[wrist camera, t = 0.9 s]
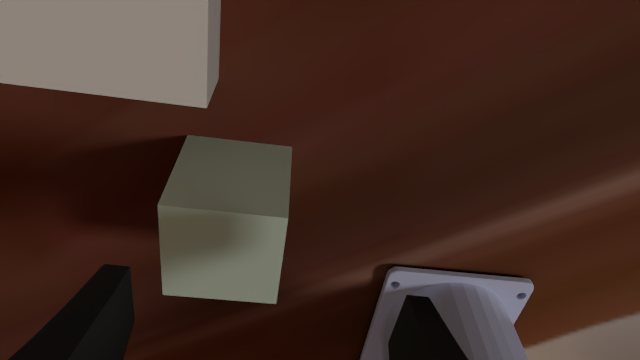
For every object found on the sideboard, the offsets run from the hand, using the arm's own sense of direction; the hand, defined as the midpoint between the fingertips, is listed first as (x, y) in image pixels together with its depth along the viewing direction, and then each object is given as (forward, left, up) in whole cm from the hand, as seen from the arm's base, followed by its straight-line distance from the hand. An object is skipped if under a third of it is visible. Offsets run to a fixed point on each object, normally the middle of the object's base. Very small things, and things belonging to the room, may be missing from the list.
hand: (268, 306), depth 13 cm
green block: (-3, +2, -10) cm, 10 cm away
